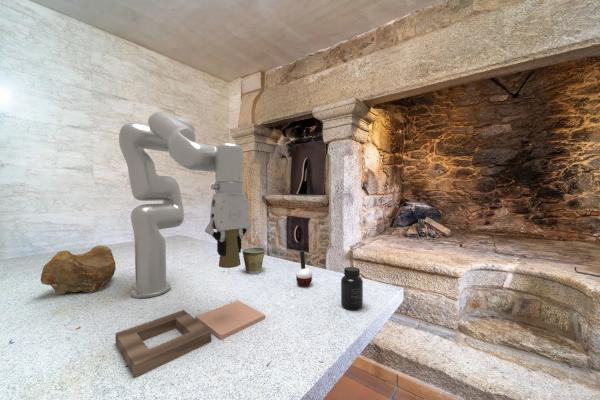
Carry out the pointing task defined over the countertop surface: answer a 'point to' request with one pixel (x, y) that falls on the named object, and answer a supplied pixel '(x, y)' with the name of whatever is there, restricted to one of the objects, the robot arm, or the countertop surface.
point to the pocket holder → (149, 359)
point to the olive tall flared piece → (230, 250)
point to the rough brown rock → (79, 270)
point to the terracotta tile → (229, 318)
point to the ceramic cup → (253, 259)
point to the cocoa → (304, 273)
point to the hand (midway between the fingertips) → (229, 252)
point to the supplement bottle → (352, 289)
